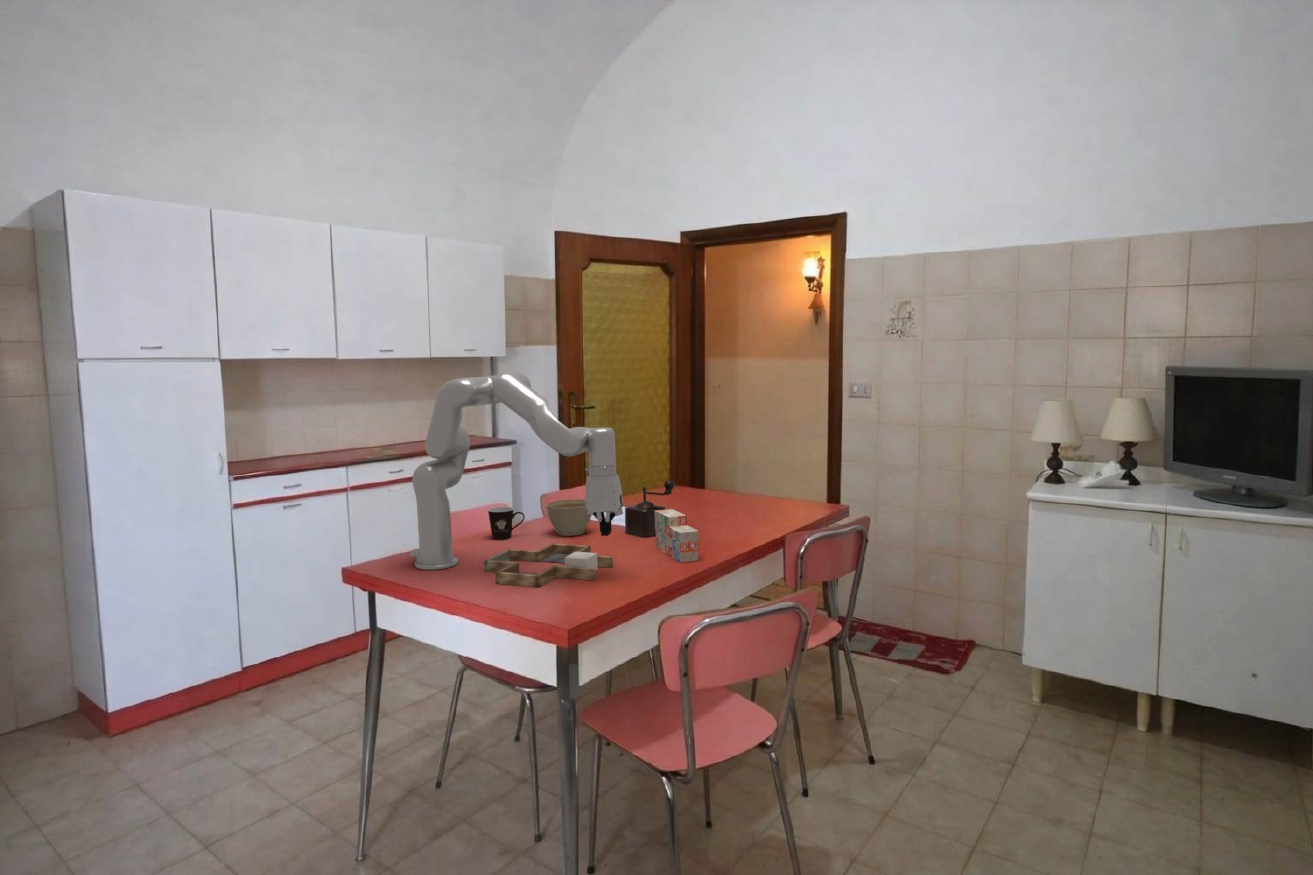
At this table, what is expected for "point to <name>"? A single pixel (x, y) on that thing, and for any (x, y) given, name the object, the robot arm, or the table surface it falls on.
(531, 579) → the low wooden maze walls
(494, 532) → the coffee mug
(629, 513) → the manual coffee grinder
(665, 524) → the stack of blocks
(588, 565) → the cream block
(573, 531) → the planter bowl
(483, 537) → the table surface
